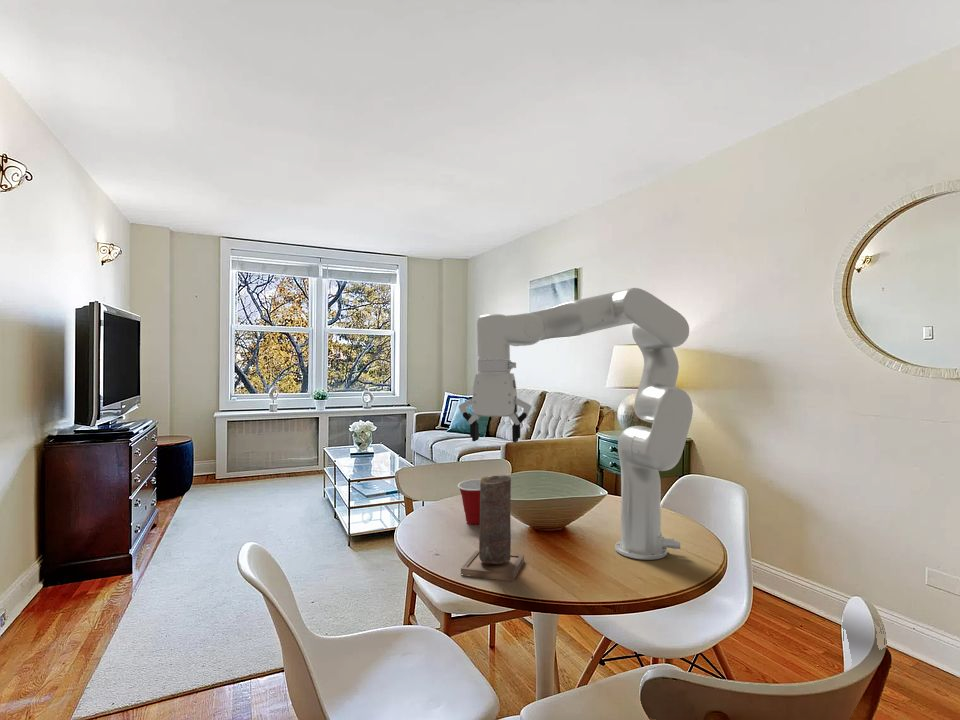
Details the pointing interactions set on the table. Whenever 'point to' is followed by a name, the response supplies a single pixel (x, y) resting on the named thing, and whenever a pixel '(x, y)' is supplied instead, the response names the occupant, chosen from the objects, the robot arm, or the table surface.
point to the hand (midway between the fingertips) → (495, 441)
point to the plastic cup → (471, 500)
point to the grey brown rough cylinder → (495, 519)
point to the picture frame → (493, 567)
